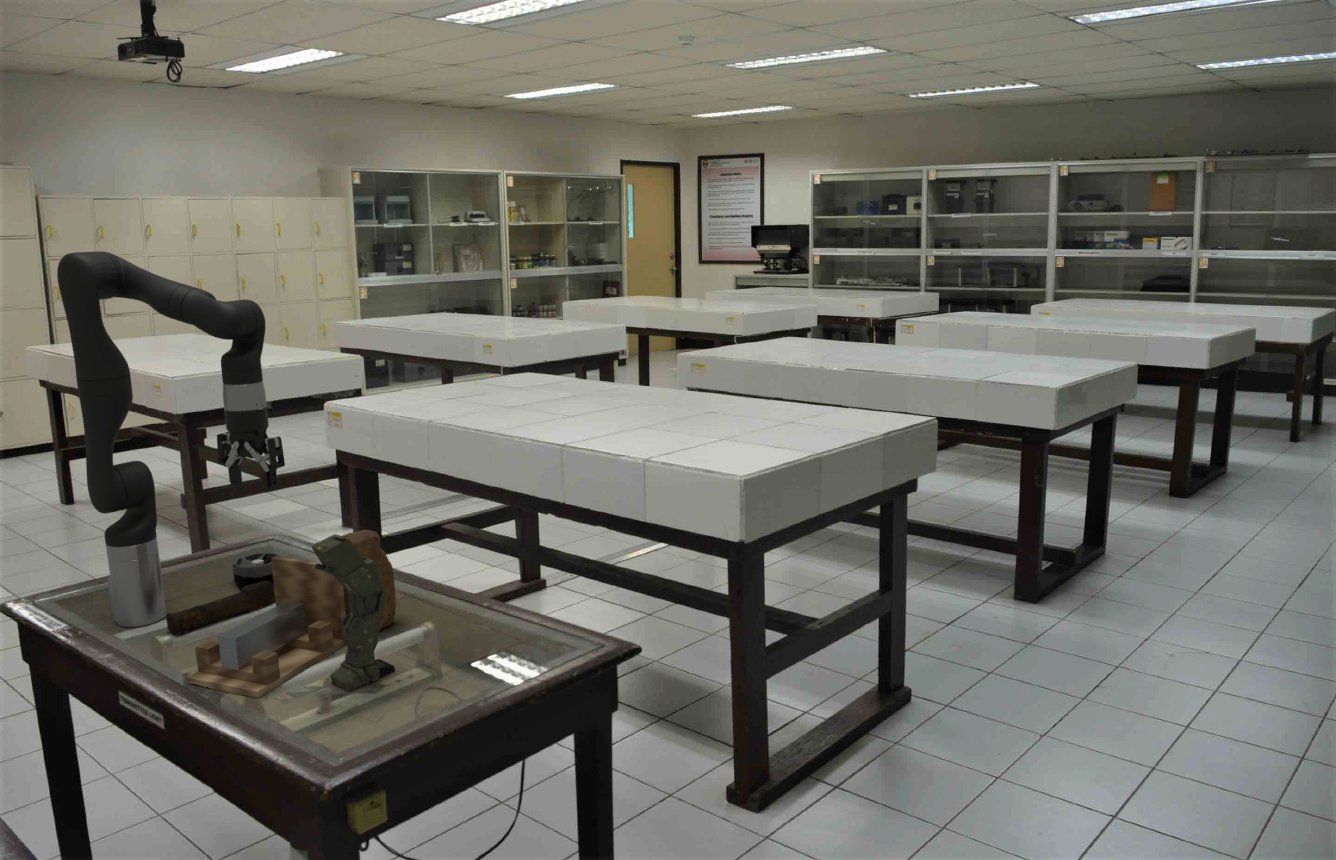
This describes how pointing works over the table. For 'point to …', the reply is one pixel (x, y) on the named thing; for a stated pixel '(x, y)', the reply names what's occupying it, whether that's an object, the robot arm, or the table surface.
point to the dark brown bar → (222, 607)
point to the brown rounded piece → (371, 549)
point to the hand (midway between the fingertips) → (253, 487)
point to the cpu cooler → (253, 569)
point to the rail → (262, 634)
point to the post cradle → (289, 660)
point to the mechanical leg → (356, 610)
